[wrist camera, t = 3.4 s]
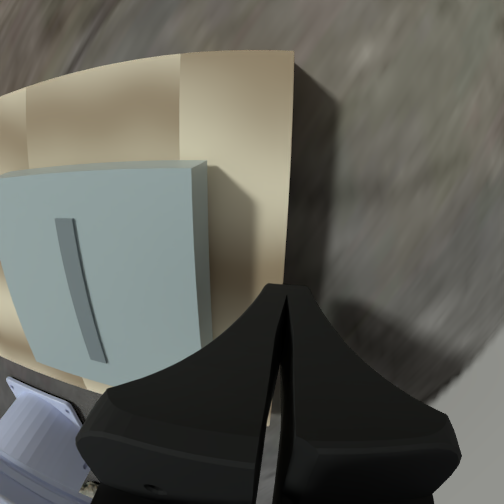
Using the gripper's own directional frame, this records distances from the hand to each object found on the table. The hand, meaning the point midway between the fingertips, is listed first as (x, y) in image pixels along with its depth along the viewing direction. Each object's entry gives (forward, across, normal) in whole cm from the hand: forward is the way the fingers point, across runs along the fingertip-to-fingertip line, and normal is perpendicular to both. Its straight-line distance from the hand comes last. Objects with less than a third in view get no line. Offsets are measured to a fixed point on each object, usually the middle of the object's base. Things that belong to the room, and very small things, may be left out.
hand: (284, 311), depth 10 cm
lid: (+1, +7, 0) cm, 7 cm away
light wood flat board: (+3, +13, 0) cm, 14 cm away
